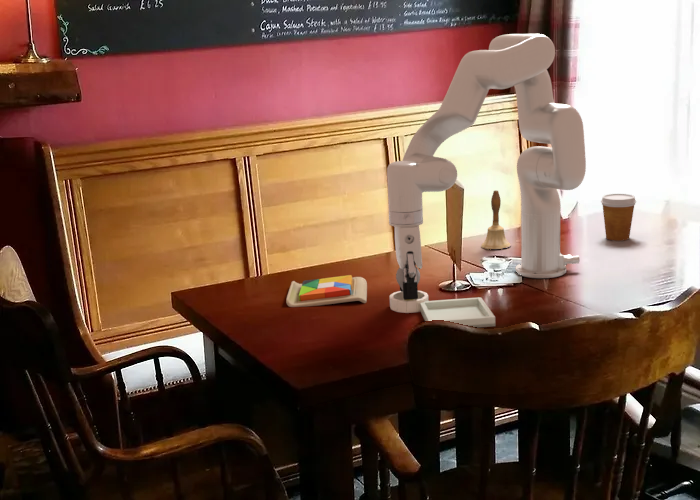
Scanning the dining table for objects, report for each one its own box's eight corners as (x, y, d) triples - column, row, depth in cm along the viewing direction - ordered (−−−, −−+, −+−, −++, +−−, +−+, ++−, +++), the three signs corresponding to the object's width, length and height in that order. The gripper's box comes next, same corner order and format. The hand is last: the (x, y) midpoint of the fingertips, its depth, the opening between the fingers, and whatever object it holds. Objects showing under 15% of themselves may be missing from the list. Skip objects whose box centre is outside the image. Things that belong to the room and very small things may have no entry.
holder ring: (425, 299, 207) (424, 288, 206) (430, 311, 199) (430, 300, 198) (388, 302, 206) (388, 291, 206) (392, 313, 198) (392, 302, 197)
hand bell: (489, 241, 256) (488, 187, 252) (515, 244, 251) (515, 189, 247) (475, 248, 250) (474, 192, 246) (502, 251, 245) (502, 194, 241)
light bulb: (419, 310, 199) (418, 267, 197) (395, 310, 200) (393, 267, 198) (422, 303, 204) (421, 261, 202) (399, 302, 206) (397, 261, 203)
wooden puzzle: (292, 287, 224) (291, 274, 223) (367, 284, 223) (366, 270, 222) (285, 309, 207) (284, 295, 206) (366, 305, 206) (365, 291, 206)
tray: (481, 305, 200) (481, 297, 200) (495, 326, 187) (495, 317, 186) (419, 310, 200) (419, 301, 199) (429, 330, 186) (429, 321, 186)
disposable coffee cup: (639, 241, 248) (640, 199, 245) (605, 243, 248) (606, 200, 245) (629, 233, 257) (630, 192, 254) (596, 235, 257) (597, 194, 254)
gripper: (428, 224, 189) (431, 305, 194) (417, 208, 206) (419, 283, 210) (393, 226, 189) (396, 307, 193) (385, 210, 205) (388, 285, 210)
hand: (408, 294), depth 202 cm, fingers closed on light bulb, 5 cm apart
